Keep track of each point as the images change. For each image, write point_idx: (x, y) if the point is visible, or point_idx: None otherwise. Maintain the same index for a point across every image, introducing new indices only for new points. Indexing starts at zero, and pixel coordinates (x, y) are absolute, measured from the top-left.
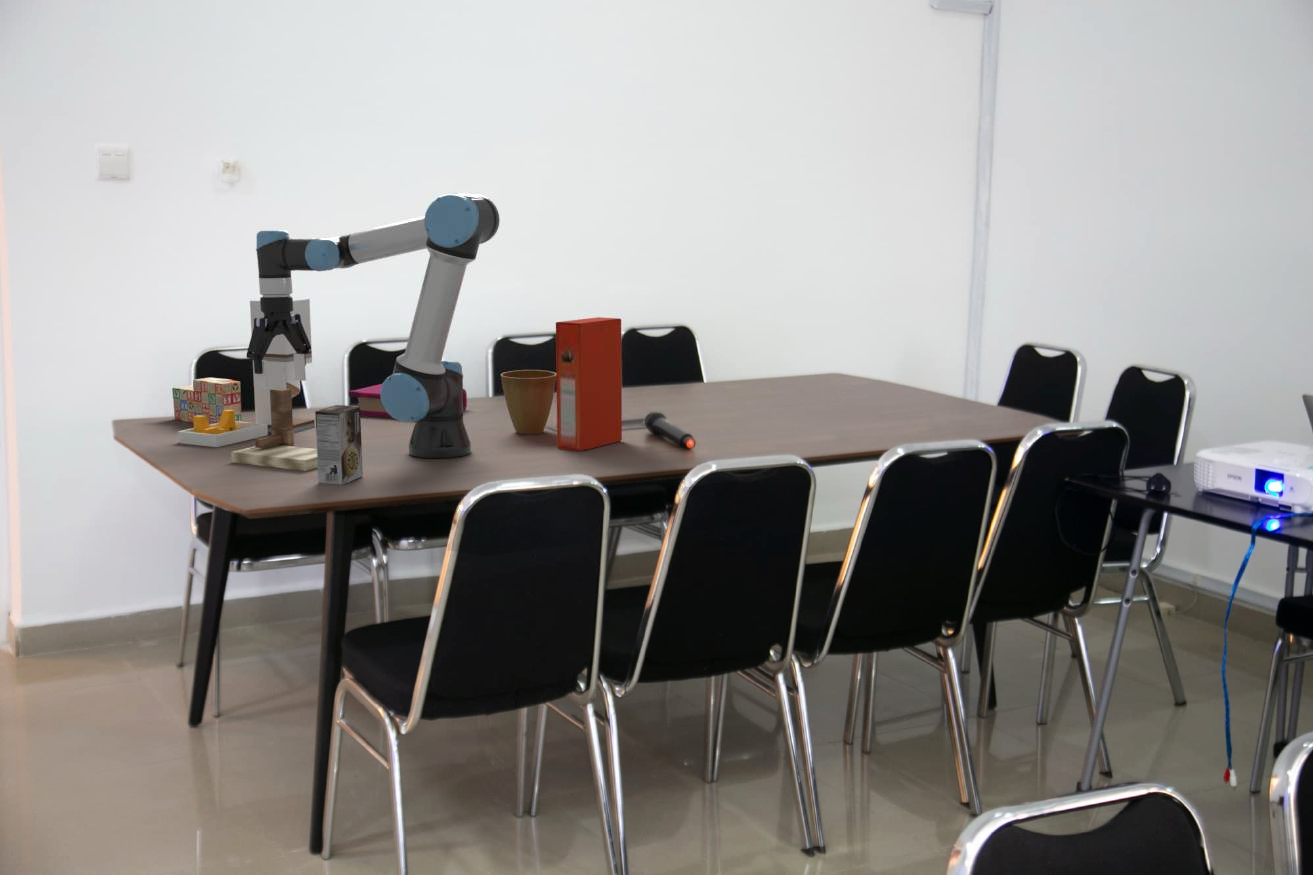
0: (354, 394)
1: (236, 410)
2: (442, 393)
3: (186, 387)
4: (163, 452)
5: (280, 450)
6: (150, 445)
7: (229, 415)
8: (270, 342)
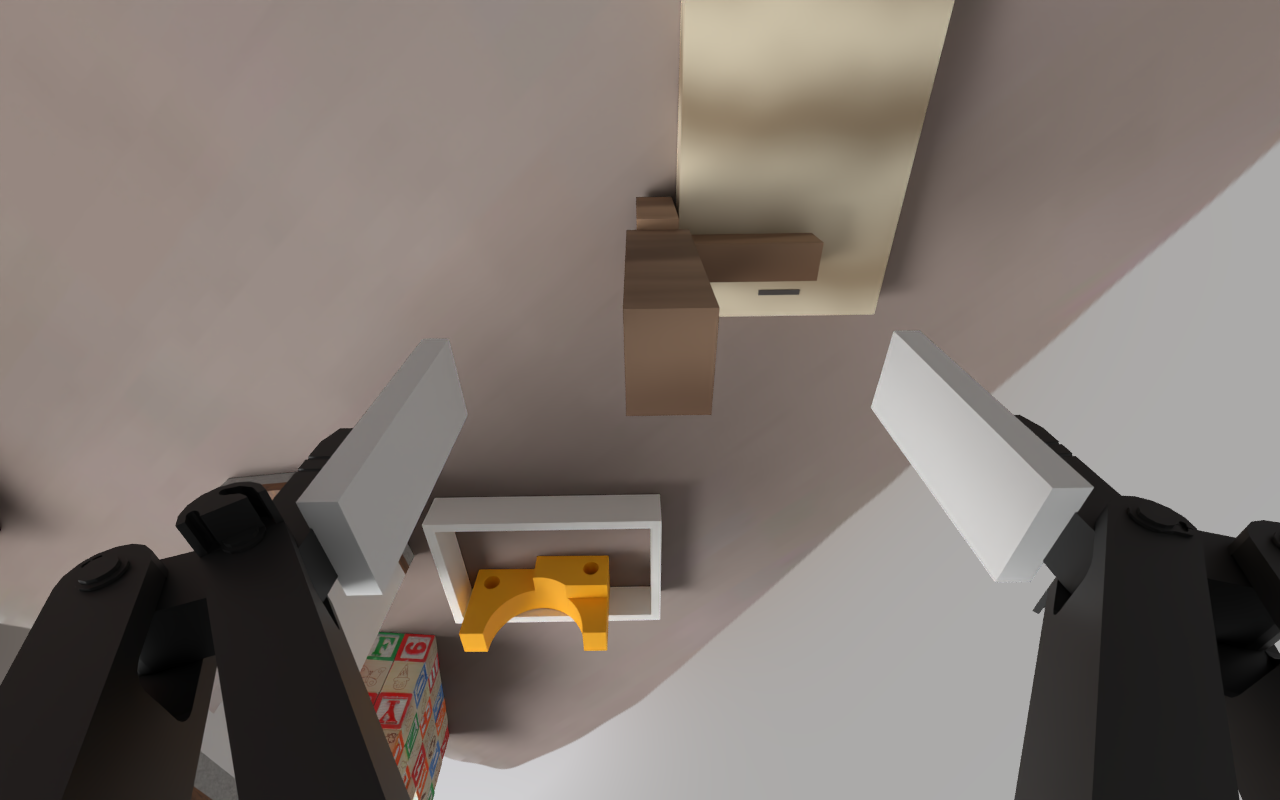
0: None
1: (373, 671)
2: None
3: None
4: (779, 547)
5: (786, 150)
6: (713, 614)
7: (486, 621)
8: (1112, 742)
